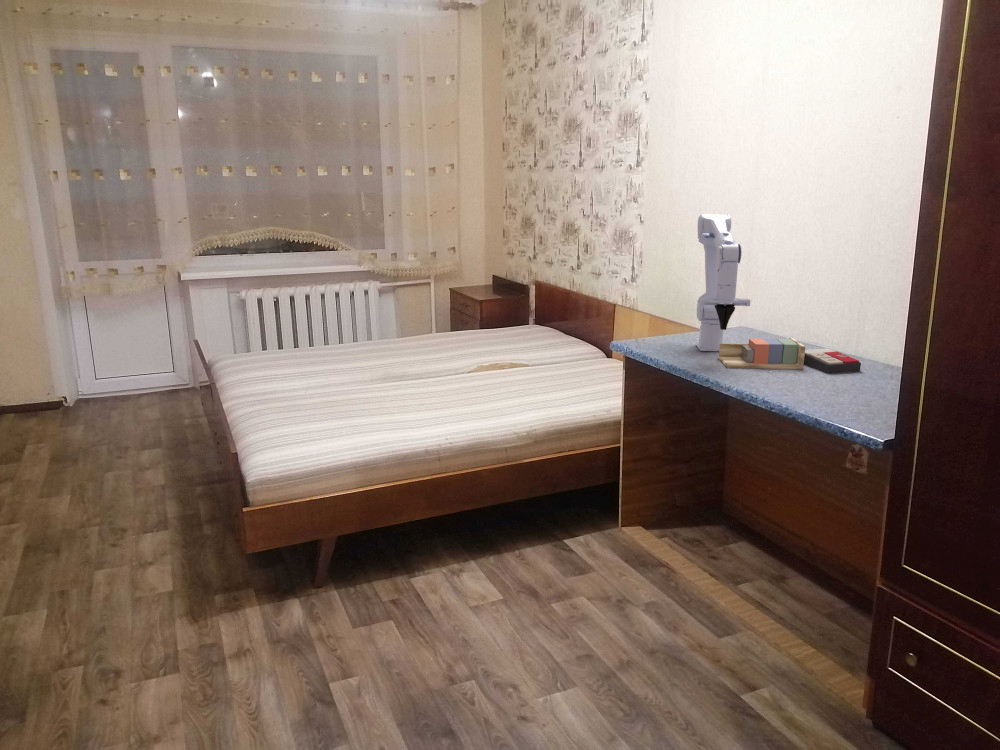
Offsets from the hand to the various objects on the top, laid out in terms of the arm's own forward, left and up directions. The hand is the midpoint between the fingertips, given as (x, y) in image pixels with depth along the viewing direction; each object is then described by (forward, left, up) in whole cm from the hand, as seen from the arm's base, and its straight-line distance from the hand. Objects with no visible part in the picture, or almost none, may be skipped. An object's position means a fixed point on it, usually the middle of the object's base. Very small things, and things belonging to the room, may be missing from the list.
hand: (723, 329), depth 229 cm
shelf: (+3, +11, -10) cm, 15 cm away
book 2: (+2, +14, -9) cm, 17 cm away
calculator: (+5, +30, -10) cm, 33 cm away
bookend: (+2, +7, -9) cm, 12 cm away
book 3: (+2, +19, -9) cm, 21 cm away
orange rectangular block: (+3, +10, -9) cm, 14 cm away
